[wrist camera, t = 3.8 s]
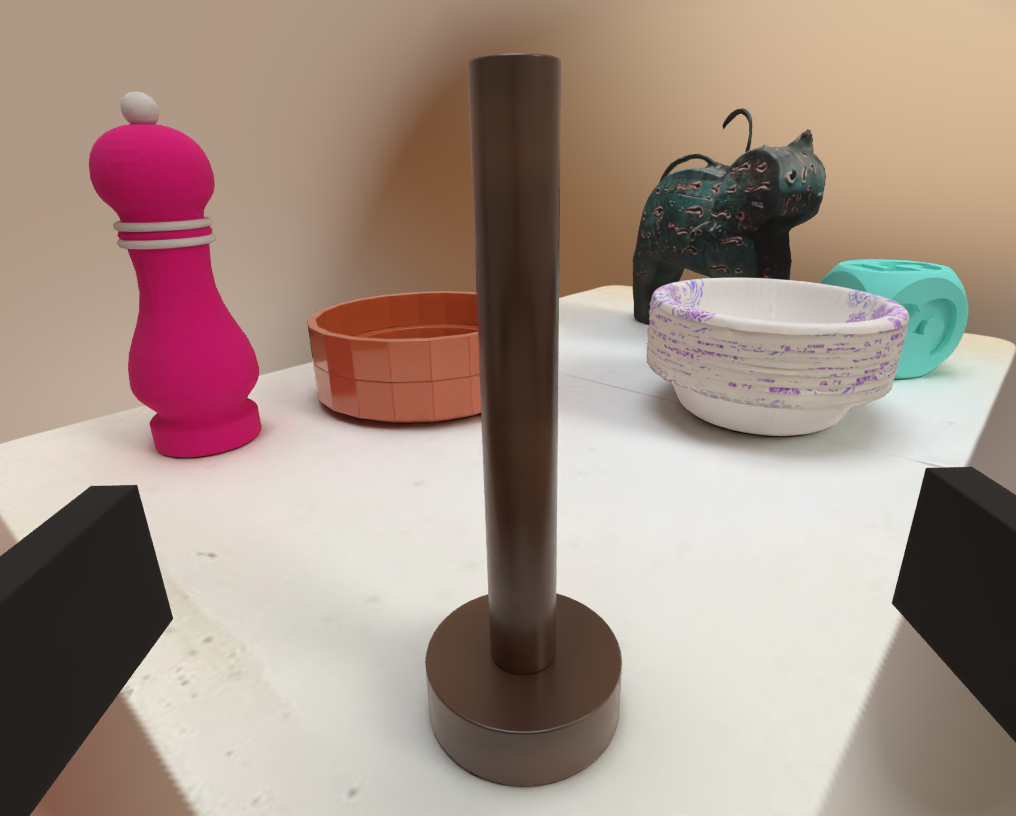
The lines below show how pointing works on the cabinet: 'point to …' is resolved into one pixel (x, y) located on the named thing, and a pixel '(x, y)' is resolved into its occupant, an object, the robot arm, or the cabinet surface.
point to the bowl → (399, 357)
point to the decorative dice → (913, 306)
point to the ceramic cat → (726, 217)
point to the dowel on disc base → (520, 468)
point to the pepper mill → (175, 287)
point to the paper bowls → (774, 351)
